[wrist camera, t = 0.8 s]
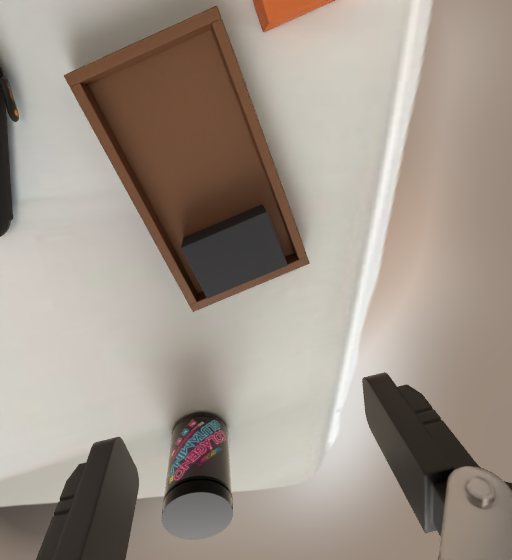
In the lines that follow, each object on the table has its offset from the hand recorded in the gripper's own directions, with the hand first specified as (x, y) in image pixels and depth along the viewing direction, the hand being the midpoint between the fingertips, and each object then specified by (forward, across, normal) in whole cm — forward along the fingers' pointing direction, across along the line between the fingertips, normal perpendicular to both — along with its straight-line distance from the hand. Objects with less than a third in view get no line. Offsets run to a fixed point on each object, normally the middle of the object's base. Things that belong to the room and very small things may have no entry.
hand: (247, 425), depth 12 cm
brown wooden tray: (+25, 0, -5) cm, 25 cm away
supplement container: (+25, +8, +24) cm, 36 cm away
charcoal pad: (+24, -1, +2) cm, 24 cm away
